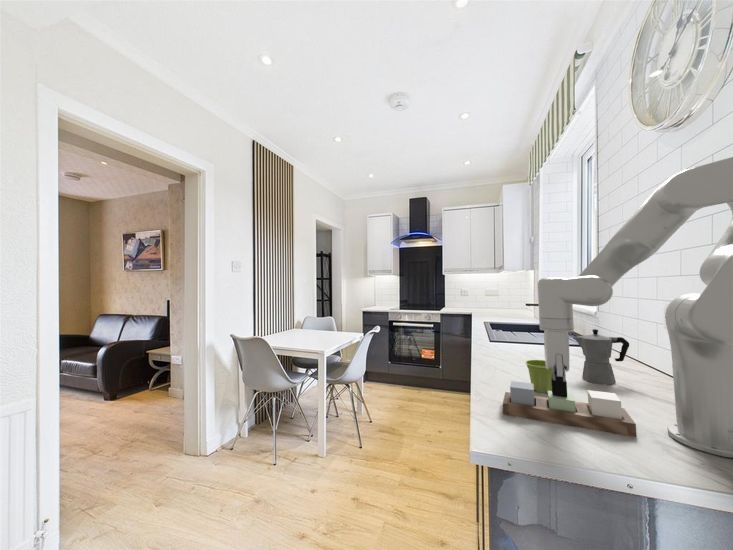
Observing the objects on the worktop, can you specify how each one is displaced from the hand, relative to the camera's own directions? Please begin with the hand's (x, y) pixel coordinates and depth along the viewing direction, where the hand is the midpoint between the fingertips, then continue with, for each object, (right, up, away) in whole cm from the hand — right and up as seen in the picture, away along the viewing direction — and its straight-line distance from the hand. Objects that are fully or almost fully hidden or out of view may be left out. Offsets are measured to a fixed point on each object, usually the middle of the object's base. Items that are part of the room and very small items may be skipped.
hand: (559, 395), depth 75 cm
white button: (+8, -3, -5) cm, 10 cm away
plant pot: (+7, -7, +19) cm, 22 cm away
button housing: (0, -6, 0) cm, 6 cm away
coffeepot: (+33, -6, +26) cm, 42 cm away
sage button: (0, -5, 0) cm, 5 cm away
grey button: (-7, -4, +4) cm, 9 cm away
